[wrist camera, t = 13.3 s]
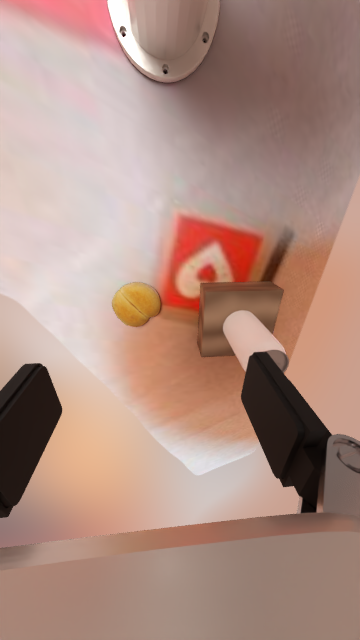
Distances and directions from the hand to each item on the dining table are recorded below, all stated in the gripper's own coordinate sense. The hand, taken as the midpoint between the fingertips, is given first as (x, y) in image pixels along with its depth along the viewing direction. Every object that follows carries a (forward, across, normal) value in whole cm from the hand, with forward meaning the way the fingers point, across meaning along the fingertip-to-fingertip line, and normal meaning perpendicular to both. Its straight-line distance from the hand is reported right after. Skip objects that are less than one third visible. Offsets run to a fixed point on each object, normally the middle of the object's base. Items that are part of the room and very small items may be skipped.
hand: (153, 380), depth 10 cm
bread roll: (+31, +4, +9) cm, 32 cm away
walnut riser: (+30, -15, +12) cm, 36 cm away
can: (+26, -15, +12) cm, 32 cm away
